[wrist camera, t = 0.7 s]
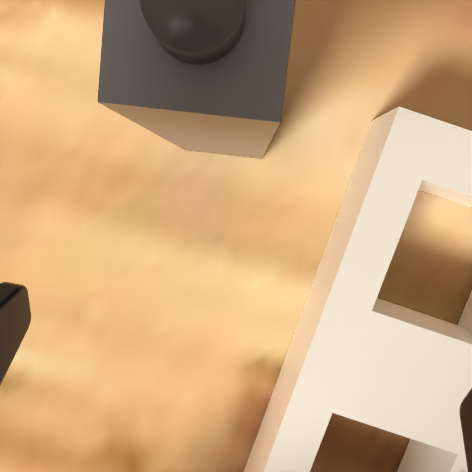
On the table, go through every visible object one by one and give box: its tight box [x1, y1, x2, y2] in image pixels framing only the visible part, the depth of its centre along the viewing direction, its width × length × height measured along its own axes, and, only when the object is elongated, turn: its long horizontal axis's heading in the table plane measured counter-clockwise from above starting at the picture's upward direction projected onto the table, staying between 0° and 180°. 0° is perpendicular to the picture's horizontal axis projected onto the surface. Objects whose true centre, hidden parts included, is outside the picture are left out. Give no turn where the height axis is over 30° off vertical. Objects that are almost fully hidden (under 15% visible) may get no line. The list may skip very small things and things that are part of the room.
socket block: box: [244, 107, 472, 472], centre depth 21 cm, size 22×10×4 cm, turn 162°
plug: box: [98, 0, 295, 159], centre depth 15 cm, size 4×4×14 cm
